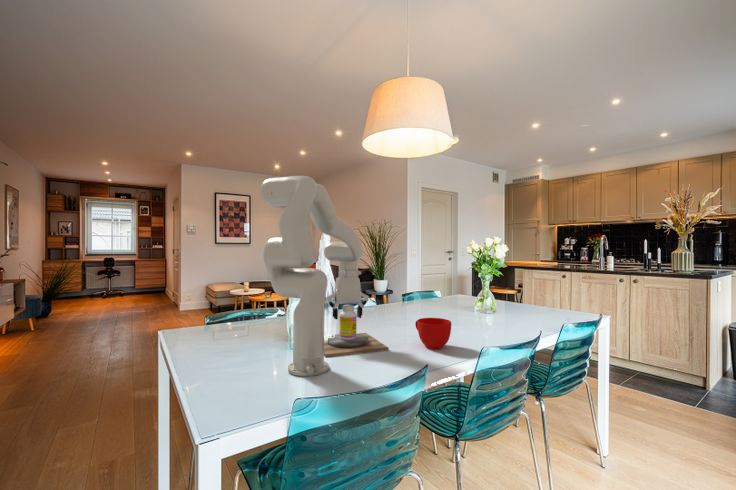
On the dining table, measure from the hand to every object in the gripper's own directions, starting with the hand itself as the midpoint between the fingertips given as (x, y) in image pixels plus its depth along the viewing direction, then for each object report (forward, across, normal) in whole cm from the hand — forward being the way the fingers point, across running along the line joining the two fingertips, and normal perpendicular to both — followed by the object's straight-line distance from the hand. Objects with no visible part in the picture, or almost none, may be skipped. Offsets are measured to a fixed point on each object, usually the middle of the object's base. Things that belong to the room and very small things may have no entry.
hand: (347, 318), depth 136 cm
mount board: (+11, 0, -1) cm, 11 cm away
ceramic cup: (+11, -30, +11) cm, 34 cm away
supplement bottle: (+8, 0, 0) cm, 8 cm away
